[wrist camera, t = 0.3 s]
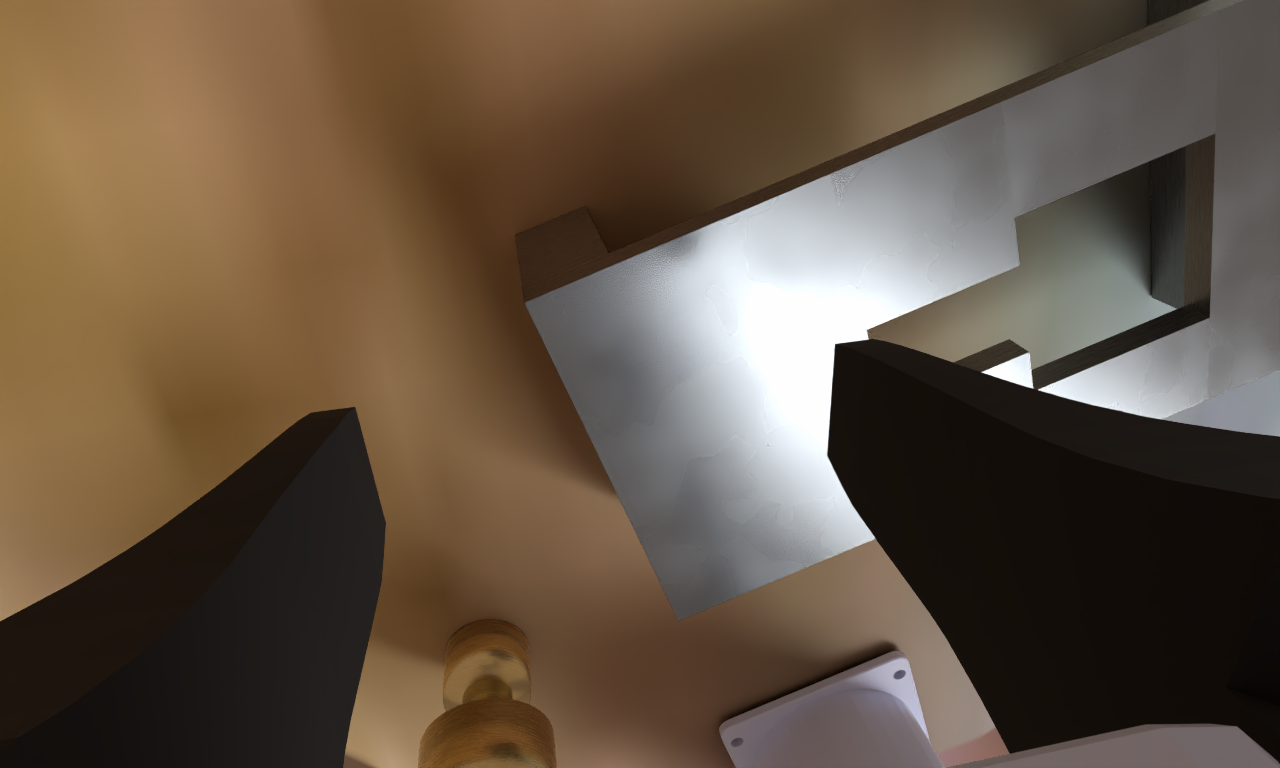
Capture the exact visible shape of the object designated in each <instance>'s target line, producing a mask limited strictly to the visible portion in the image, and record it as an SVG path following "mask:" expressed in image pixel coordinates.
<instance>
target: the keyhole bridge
mask: <svg viewBox="0 0 1280 768" xmlns="http://www.w3.org/2000/svg"><path fill="white" fill-rule="evenodd" d="M1148 25H1149V26H1147V27H1145V28H1143V29H1140V30H1138V31H1135V32H1133V33H1131V34H1128V35H1126V36H1124V37H1121V38H1119V39H1116V40H1114V41H1112V42H1109V43H1107V44H1105V45H1102V46H1100V47H1097V48H1095V49H1093V50H1090V51H1088V52H1086V53H1083V54H1081V55H1078V56H1076V57H1074V58H1071V59H1069V60H1067V61H1064V62H1062V63H1059V64H1057V65H1055V66H1052V67H1050V68H1048V69H1045V70H1043V71H1040V72H1038V73H1036V74H1033V75H1031V76H1029V77H1026V78H1024V79H1021V80H1019V81H1017V82H1014V83H1012V84H1010V85H1007V86H1005V87H1002V88H1000V89H998V90H995V91H993V92H991V93H988V94H986V95H983V96H981V97H979V98H976V99H974V100H972V101H969V102H967V103H964V104H962V105H960V106H957V107H955V108H953V109H950V110H948V111H945V112H943V113H941V114H938V115H936V116H934V117H931V118H929V119H926V120H924V121H922V122H919V123H917V124H915V125H912V126H910V127H907V128H905V129H903V130H900V131H898V132H896V133H893V134H891V135H888V136H886V137H884V138H881V139H879V140H877V141H874V142H872V143H869V144H867V145H865V146H862V147H860V148H858V149H855V150H853V151H850V152H848V153H846V154H843V155H841V156H839V157H836V158H834V159H831V160H829V161H827V162H824V163H822V164H820V165H817V166H815V167H812V168H810V169H808V170H805V171H803V172H801V173H798V174H796V175H793V176H791V177H789V178H786V179H784V180H782V181H779V182H777V183H774V184H772V185H770V186H767V187H765V188H763V189H760V190H758V191H755V192H753V193H751V194H748V195H746V196H744V197H741V198H739V199H736V200H734V201H732V202H729V203H727V204H725V205H722V206H720V207H717V208H715V209H713V210H710V211H708V212H706V213H703V214H701V215H699V216H696V217H694V218H691V219H689V220H687V221H684V222H682V223H680V224H677V225H675V226H672V227H670V228H668V229H665V230H663V231H661V232H658V233H656V234H653V235H651V236H649V237H646V238H644V239H642V240H639V241H637V242H634V243H632V244H630V245H627V246H625V247H623V248H620V249H618V250H615V251H613V252H611V253H608V252H607V250H606V248H605V246H604V243H603V241H602V239H601V237H600V235H599V233H598V231H597V229H596V227H595V225H594V223H593V221H592V219H591V217H590V215H589V213H588V211H587V209H586V207H585V206H584V207H582V208H579V209H577V210H575V211H572V212H570V213H567V214H565V215H563V216H560V217H558V218H556V219H553V220H551V221H548V222H546V223H544V224H541V225H539V226H537V227H534V228H532V229H529V230H527V231H525V232H522V233H520V234H518V235H515V239H516V246H517V253H518V261H519V268H520V275H521V282H522V290H523V297H524V303H525V305H526V307H527V309H528V312H529V314H530V316H531V318H532V320H533V322H534V324H535V326H536V328H537V330H538V332H539V334H540V336H541V338H542V340H543V342H544V345H545V347H546V349H547V351H548V353H549V355H550V357H551V359H552V361H553V363H554V365H555V367H556V369H557V371H558V373H559V375H560V378H561V380H562V382H563V384H564V386H565V388H566V390H567V392H568V394H569V396H570V398H571V400H572V402H573V404H574V406H575V408H576V411H577V413H578V415H579V417H580V419H581V421H582V423H583V425H584V427H585V429H586V431H587V433H588V435H589V437H590V439H591V441H592V444H593V446H594V448H595V450H596V452H597V454H598V456H599V458H600V460H601V462H602V464H603V466H604V468H605V470H606V472H607V474H608V477H609V479H610V481H611V483H612V485H613V487H614V489H615V491H616V493H617V495H618V497H619V499H620V501H621V503H622V505H623V507H624V510H625V512H626V514H627V516H628V518H629V520H630V522H631V524H632V526H633V528H634V530H635V532H636V534H637V536H638V538H639V540H640V543H641V545H642V547H643V549H644V551H645V553H646V555H647V557H648V559H649V561H650V563H651V565H652V567H653V569H654V571H655V574H656V576H657V578H658V580H659V582H660V584H661V586H662V588H663V590H664V592H665V594H666V596H667V598H668V600H669V602H670V604H671V607H672V609H673V611H674V613H675V615H676V617H677V619H678V621H679V620H682V619H684V618H687V617H689V616H691V615H694V614H696V613H699V612H701V611H703V610H706V609H708V608H711V607H713V606H715V605H718V604H720V603H723V602H725V601H727V600H730V599H732V598H734V597H737V596H739V595H742V594H744V593H746V592H749V591H751V590H754V589H756V588H758V587H761V586H763V585H766V584H768V583H770V582H773V581H775V580H778V579H780V578H782V577H785V576H787V575H790V574H792V573H794V572H797V571H799V570H801V569H804V568H806V567H809V566H811V565H813V564H816V563H818V562H821V561H823V560H825V559H828V558H830V557H833V556H835V555H837V554H840V553H842V552H845V551H847V550H849V549H852V548H854V547H857V546H859V545H861V544H864V543H866V542H868V541H871V540H873V539H876V538H875V537H874V536H873V534H872V533H871V531H870V530H869V529H868V527H867V526H866V524H865V523H864V522H863V520H862V519H861V517H860V516H859V514H858V513H857V512H856V510H855V509H854V507H853V506H852V504H851V502H850V500H849V498H848V496H847V495H846V493H845V491H844V489H843V487H842V485H841V483H840V481H839V479H838V477H837V475H836V473H835V471H834V469H833V467H832V465H831V463H830V461H829V459H828V457H827V449H828V435H829V420H830V406H831V392H832V377H833V363H834V348H835V344H838V343H845V342H853V341H861V340H868V334H867V330H868V329H870V328H872V327H875V326H877V325H880V324H882V323H884V322H887V321H889V320H891V319H894V318H896V317H899V316H901V315H903V314H906V313H908V312H911V311H913V310H915V309H918V308H920V307H922V306H925V305H927V304H930V303H932V302H934V301H937V300H939V299H941V298H944V297H946V296H949V295H951V294H953V293H956V292H958V291H961V290H963V289H965V288H968V287H970V286H972V285H975V284H977V283H980V282H982V281H984V280H987V279H989V278H992V277H994V276H996V275H999V274H1001V273H1003V272H1006V271H1008V270H1011V269H1013V268H1015V267H1018V266H1020V263H1019V254H1018V245H1017V236H1016V227H1015V217H1018V216H1020V215H1022V214H1025V213H1027V212H1030V211H1032V210H1034V209H1037V208H1039V207H1041V206H1044V205H1046V204H1049V203H1051V202H1053V201H1056V200H1058V199H1061V198H1063V197H1065V196H1068V195H1070V194H1072V193H1075V192H1077V191H1080V190H1082V189H1084V188H1087V187H1089V186H1091V185H1094V184H1096V183H1099V182H1101V181H1103V180H1106V179H1108V178H1111V177H1113V176H1115V175H1118V174H1120V173H1122V172H1125V171H1127V170H1130V169H1132V168H1134V167H1137V166H1139V165H1141V164H1144V163H1146V162H1149V161H1150V176H1151V252H1152V298H1154V299H1157V300H1159V301H1161V302H1163V303H1166V304H1168V305H1170V306H1172V307H1175V308H1177V309H1176V310H1174V311H1172V312H1169V313H1167V314H1164V315H1162V316H1160V317H1157V318H1155V319H1153V320H1150V321H1148V322H1145V323H1143V324H1141V325H1138V326H1136V327H1133V328H1131V329H1129V330H1126V331H1124V332H1122V333H1119V334H1117V335H1114V336H1112V337H1110V338H1107V339H1105V340H1102V341H1100V342H1098V343H1095V344H1093V345H1090V346H1088V347H1086V348H1083V349H1081V350H1079V351H1076V352H1074V353H1071V354H1069V355H1067V356H1064V357H1062V358H1059V359H1057V360H1055V361H1052V362H1050V363H1047V364H1045V365H1043V366H1040V367H1038V368H1036V369H1033V370H1031V363H1030V354H1029V352H1028V351H1027V350H1025V349H1024V348H1022V347H1020V346H1019V345H1017V344H1016V343H1014V342H1013V341H1011V340H1010V339H1009V340H1006V341H1004V342H1001V343H999V344H997V345H994V346H992V347H990V348H987V349H985V350H982V351H980V352H978V353H975V354H973V355H970V356H968V357H966V358H963V359H961V360H958V361H956V362H954V363H955V364H958V365H961V366H964V367H967V368H970V369H973V370H976V371H979V372H982V373H985V374H988V375H991V376H994V377H997V378H1000V379H1003V380H1007V381H1010V382H1013V383H1016V384H1019V385H1022V386H1026V387H1029V388H1033V389H1036V390H1040V391H1043V392H1047V393H1050V394H1054V395H1057V396H1060V397H1064V398H1068V399H1071V400H1075V401H1079V402H1083V403H1087V404H1091V405H1095V406H1100V407H1104V408H1109V409H1113V410H1118V411H1122V412H1127V413H1132V414H1136V415H1141V416H1145V417H1150V418H1156V419H1163V418H1165V417H1168V416H1170V415H1172V414H1175V413H1177V412H1180V411H1182V410H1184V409H1187V408H1189V407H1191V406H1194V405H1196V404H1199V403H1201V402H1203V401H1206V400H1208V399H1211V398H1213V397H1215V396H1218V395H1220V394H1223V393H1225V392H1227V391H1230V390H1232V389H1235V388H1237V387H1239V386H1242V385H1244V384H1247V383H1249V382H1251V381H1254V380H1256V379H1258V378H1261V377H1263V376H1266V375H1268V374H1270V373H1273V372H1275V371H1278V370H1280V0H1148Z"/></svg>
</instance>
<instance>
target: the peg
mask: <svg viewBox="0 0 1280 768" xmlns="http://www.w3.org/2000/svg"><path fill="white" fill-rule="evenodd" d="M530 697H531V683H530V668H529V654H528V643H527V639H526V637H525V635H524V634H523V632H522V631H521V630H520V629H519V628H517V627H516V626H514V625H512V624H510V623H508V622H504V621H500V620H482V621H477V622H474V623H471V624H468V625H466V626H464V627H463V628H461V629H459V630H458V631H457V632H456V633H455V634H454V635H453V636H452V637H451V639H450V640H449V642H448V644H447V647H446V657H445V675H444V692H443V704H444V707H445V710H446V711H447V712H445V713H443V714H442V715H440V716H439V717H438V718H437V719H435V720H434V721H433V722H432V723H431V724H430V726H429V727H428V728H427V730H426V731H425V733H424V735H423V737H422V739H421V742H420V749H419V761H418V768H557V762H556V752H555V742H554V732H553V728H552V725H551V723H550V721H549V720H548V718H547V717H546V716H545V715H544V714H543V713H542V712H541V711H540V710H538V709H536V708H535V707H533V706H531V705H529V704H528V703H529V701H530Z"/></svg>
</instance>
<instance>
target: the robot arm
mask: <svg viewBox="0 0 1280 768" xmlns="http://www.w3.org/2000/svg"><path fill="white" fill-rule="evenodd" d="M827 457H828V459H829V461H830V463H831V465H832V467H833V469H834V471H835V473H836V475H837V477H838V479H839V481H840V483H841V485H842V487H843V489H844V491H845V493H846V495H847V496H848V498H849V500H850V502H851V504H852V506H853V507H854V509H855V510H856V512H857V513H858V514H859V516H860V517H861V519H862V520H863V522H864V523H865V524H866V526H867V527H868V529H869V530H870V531H871V533H872V534H873V536H874V537H875V538H876V540H877V541H878V543H879V544H880V545H881V547H882V548H883V550H884V551H885V552H886V554H887V555H888V556H889V558H890V559H891V560H892V562H893V563H894V565H895V566H896V567H897V569H898V570H899V571H900V573H901V574H902V576H903V577H904V578H905V580H906V581H907V582H908V584H909V585H910V587H911V588H912V589H913V591H914V592H915V593H916V595H917V596H918V598H919V599H920V600H921V602H922V603H923V604H924V606H925V607H926V609H927V610H928V611H929V613H930V614H931V616H932V617H933V619H934V620H935V622H936V623H937V625H938V626H939V628H940V629H941V631H942V632H943V634H944V635H945V637H946V639H947V640H948V642H949V644H950V645H951V647H952V649H953V651H954V652H955V654H956V656H957V658H958V659H959V661H960V663H961V665H962V667H963V668H964V670H965V672H966V674H967V675H968V677H969V679H970V681H971V682H972V684H973V686H974V688H975V689H976V691H977V693H978V695H979V696H980V698H981V700H982V702H983V704H984V706H985V708H986V710H987V711H988V713H989V715H990V717H991V719H992V721H993V723H994V725H995V727H996V728H997V730H998V732H999V734H1000V736H1001V738H1002V740H1003V742H1004V743H1005V745H1006V747H1007V749H1008V751H1009V753H1010V754H1007V755H1002V756H998V757H993V758H989V759H984V760H979V761H975V762H970V763H965V764H961V765H956V766H952V767H948V768H1280V437H1278V436H1269V435H1261V434H1252V433H1244V432H1236V431H1230V430H1223V429H1217V428H1210V427H1204V426H1197V425H1191V424H1184V423H1178V422H1172V421H1167V420H1161V419H1156V418H1150V417H1145V416H1141V415H1136V414H1132V413H1127V412H1122V411H1118V410H1113V409H1109V408H1104V407H1100V406H1095V405H1091V404H1087V403H1083V402H1079V401H1075V400H1071V399H1068V398H1064V397H1060V396H1057V395H1054V394H1050V393H1047V392H1043V391H1040V390H1036V389H1033V388H1029V387H1026V386H1022V385H1019V384H1016V383H1013V382H1010V381H1007V380H1003V379H1000V378H997V377H994V376H991V375H988V374H985V373H982V372H979V371H976V370H973V369H970V368H967V367H964V366H961V365H958V364H955V363H953V362H950V361H947V360H944V359H941V358H938V357H935V356H932V355H929V354H926V353H923V352H920V351H917V350H914V349H910V348H907V347H904V346H901V345H897V344H893V343H890V342H885V341H881V340H875V339H868V340H861V341H853V342H845V343H838V344H835V348H834V363H833V377H832V392H831V406H830V420H829V435H828V449H827ZM385 526H386V522H385V518H384V515H383V511H382V507H381V503H380V499H379V496H378V492H377V488H376V484H375V480H374V477H373V473H372V469H371V465H370V461H369V458H368V454H367V450H366V446H365V442H364V439H363V435H362V431H361V427H360V423H359V420H358V416H357V412H356V408H355V407H351V408H343V409H336V410H328V411H321V412H313V413H310V414H308V415H306V416H305V417H303V418H302V419H300V420H299V421H297V422H296V423H295V424H294V425H292V426H291V427H290V428H288V429H287V430H286V431H285V432H283V433H282V434H281V435H280V436H278V437H277V438H276V439H275V440H273V441H272V442H271V443H270V444H269V445H267V446H266V447H265V448H264V449H262V450H261V451H260V452H259V453H257V454H256V455H255V456H254V457H253V458H251V459H250V460H249V461H248V462H246V463H245V464H244V465H243V466H241V467H240V468H239V469H238V470H236V471H235V472H234V473H233V474H232V475H230V476H229V477H228V478H227V479H225V480H224V481H223V482H222V483H220V484H219V485H218V486H216V487H215V488H214V489H212V490H211V491H210V492H208V493H207V494H205V495H204V496H203V497H201V498H200V499H199V500H197V501H196V502H195V503H193V504H192V505H191V506H189V507H188V508H187V509H185V510H184V511H183V512H181V513H180V514H178V515H177V516H176V517H174V518H173V519H172V520H170V521H169V522H168V523H166V524H165V525H164V526H162V527H161V528H159V529H158V530H156V531H155V532H153V533H152V534H150V535H149V536H148V537H146V538H145V539H143V540H141V541H140V542H138V543H137V544H135V545H134V546H132V547H131V548H129V549H128V550H126V551H125V552H123V553H121V554H120V555H118V556H116V557H115V558H113V559H112V560H110V561H108V562H107V563H105V564H103V565H102V566H100V567H98V568H97V569H95V570H94V571H92V572H90V573H89V574H87V575H85V576H84V577H82V578H80V579H78V580H77V581H75V582H73V583H72V584H70V585H68V586H66V587H64V588H62V589H61V590H59V591H57V592H55V593H53V594H51V595H49V596H47V597H45V598H44V599H42V600H40V601H38V602H36V603H34V604H32V605H30V606H29V607H27V608H25V609H23V610H21V611H19V612H17V613H15V614H13V615H12V616H10V617H8V618H6V619H4V620H2V621H0V768H343V764H344V755H345V749H346V743H347V738H348V732H349V726H350V721H351V716H352V712H353V707H354V703H355V699H356V694H357V690H358V685H359V681H360V677H361V672H362V668H363V663H364V659H365V655H366V650H367V646H368V641H369V637H370V633H371V628H372V624H373V619H374V614H375V610H376V605H377V601H378V596H379V591H380V586H381V581H382V570H383V558H384V543H385ZM719 733H720V736H721V739H722V741H723V743H724V745H725V747H726V749H727V751H728V753H729V755H730V757H731V759H732V761H733V763H734V765H735V767H736V768H945V767H944V765H943V763H942V762H941V760H940V758H939V757H938V755H937V753H936V752H935V750H934V748H933V747H932V745H931V743H930V740H929V736H928V732H927V728H926V725H925V721H924V717H923V714H922V710H921V706H920V702H919V699H918V695H917V691H916V687H915V684H914V680H913V676H912V673H911V669H910V665H909V661H908V660H907V658H906V657H905V655H904V653H903V652H901V651H892V652H889V653H887V654H885V655H882V656H880V657H877V658H875V659H873V660H870V661H868V662H865V663H863V664H861V665H858V666H856V667H853V668H851V669H849V670H846V671H844V672H841V673H839V674H837V675H834V676H832V677H829V678H827V679H825V680H822V681H820V682H817V683H815V684H813V685H810V686H808V687H805V688H803V689H801V690H798V691H796V692H793V693H791V694H789V695H786V696H784V697H781V698H779V699H777V700H774V701H772V702H769V703H767V704H765V705H762V706H760V707H757V708H755V709H753V710H750V711H748V712H745V713H743V714H741V715H738V716H736V717H733V718H731V719H729V720H727V721H725V722H723V723H722V724H721V726H720V728H719Z"/></svg>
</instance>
